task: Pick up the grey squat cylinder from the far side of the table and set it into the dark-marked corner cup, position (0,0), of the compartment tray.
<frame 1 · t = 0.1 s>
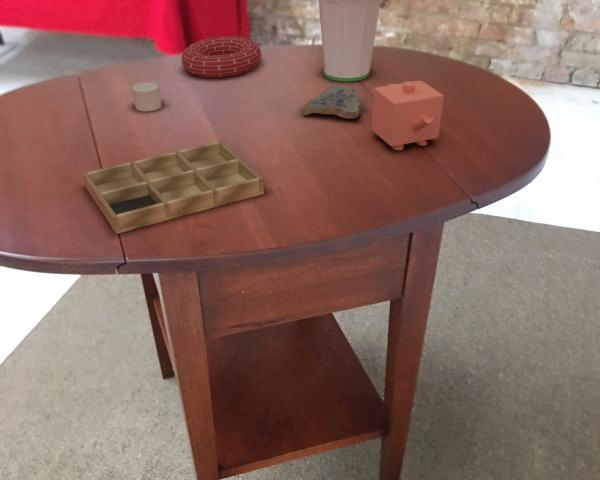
compartment tray: (174, 191, 86), on the table
ceramic fragment: (339, 110, 105), on the table
torus: (222, 67, 121), on the table
pink cube teapot: (405, 143, 96), on the table
grey squat cylinder: (148, 106, 108), on the table
cup: (346, 75, 117), on the table
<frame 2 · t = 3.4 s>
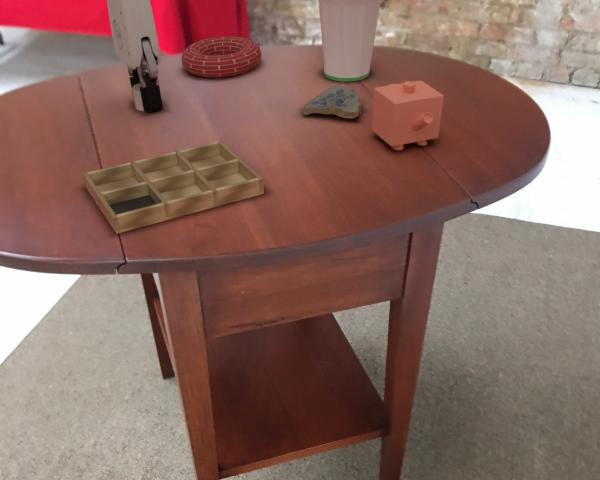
hand: (148, 104, 107), 0 cm above the table, tool pointing down, fingers closed on grey squat cylinder, 4 cm apart
grey squat cylinder: (148, 106, 108), on the table, touching gripper
everything else where it was.
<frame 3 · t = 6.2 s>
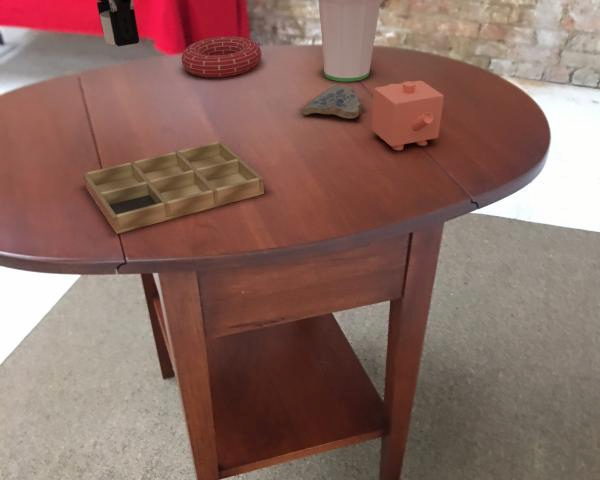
hand: (121, 37, 85), 15 cm above the table, tool pointing down, fingers closed on grey squat cylinder, 4 cm apart
grey squat cylinder: (121, 40, 86), point 15 cm above the table, touching gripper
everything else where it was.
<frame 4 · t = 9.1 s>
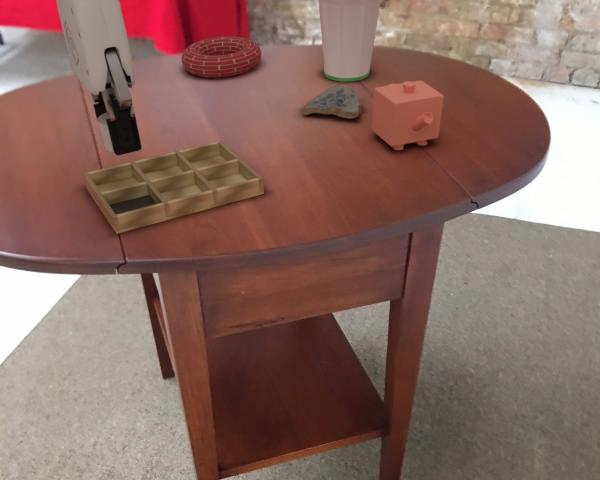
hand: (121, 142, 75), 9 cm above the table, tool pointing down, fingers closed on grey squat cylinder, 4 cm apart
grey squat cylinder: (122, 144, 75), point 9 cm above the table, touching gripper
everything else where it was.
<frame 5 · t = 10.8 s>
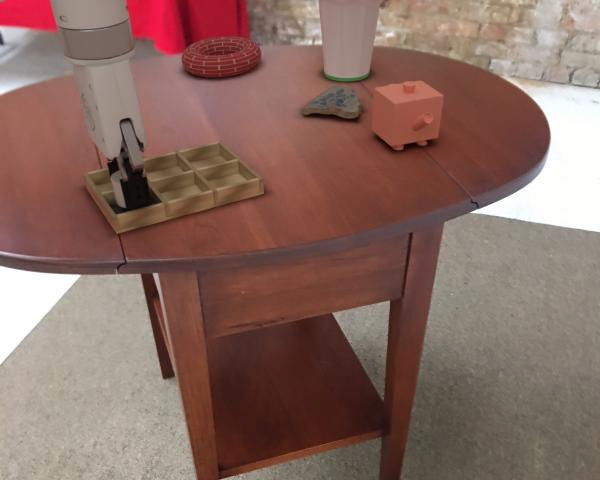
hand: (132, 197, 80), 2 cm above the table, tool pointing down, fingers closed on grey squat cylinder, 4 cm apart
grey squat cylinder: (133, 199, 80), point 2 cm above the table, touching gripper
everything else where it was.
when the fingers open (2 cm above the table, at t = 14.6 s): grey squat cylinder drops 2 cm, resting on compartment tray.
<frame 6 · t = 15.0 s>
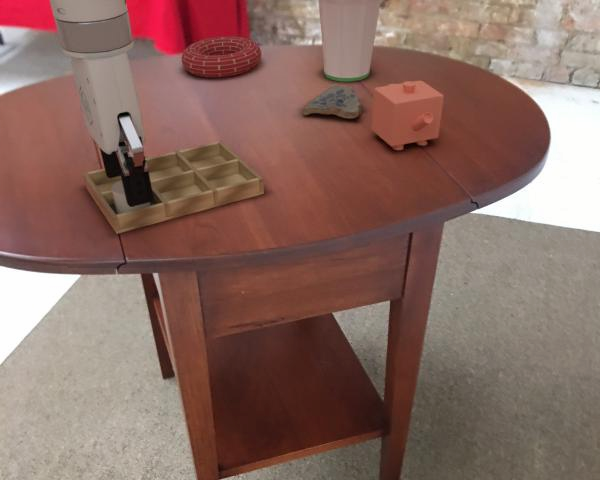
hand: (129, 188, 79), 4 cm above the table, tool pointing down, fingers open, 8 cm apart
grey squat cylinder: (134, 209, 81), point 1 cm above the table, touching compartment tray
everything else where it was.
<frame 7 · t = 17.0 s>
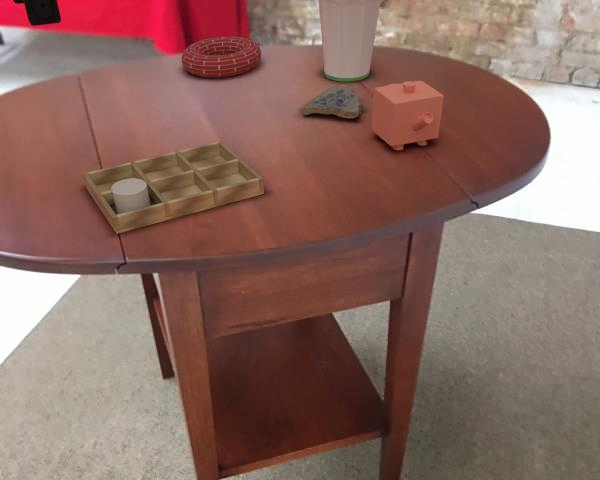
hand: (36, 12, 69), 22 cm above the table, tool pointing down, fingers open, 9 cm apart
nothing on the table moved.
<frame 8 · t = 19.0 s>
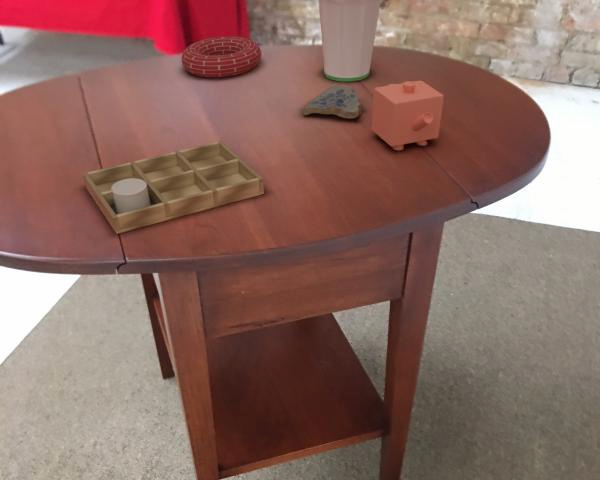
nothing on the table moved.
at the end: grey squat cylinder 0.1 cm from the target spot in the compartment tray, point 0.6 cm above the compartment tray's base; grey squat cylinder tilted 0°; the gripper is holding nothing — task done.
